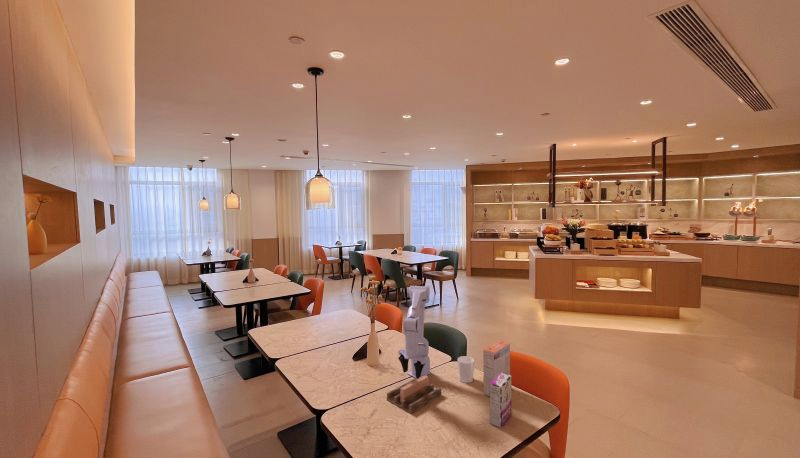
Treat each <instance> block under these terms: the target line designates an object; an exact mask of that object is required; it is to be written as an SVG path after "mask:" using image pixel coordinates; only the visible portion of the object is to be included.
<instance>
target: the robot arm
mask: <svg viewBox="0 0 800 458" xmlns="http://www.w3.org/2000/svg"><path fill="white" fill-rule="evenodd" d="M430 294H431V291H430V287H429V286H428V285H427V286H426V285H425V286H423V285H422V286H421V285H410V286H409V291H408V295H409V296H408V297H409V299H410V301H411V305H410V306H409V307H408V310H407V314H406V318H404V320H403V330H404V331H403V333H404V335H403V336H404V338H405V339H404V341H405V342H404V348H405V349H403V348H401V349H399V350H398V355H399V356H398V358H397V359H398V360H399V362H400V364H401V367H402V371H403V373H404V374H405V373H406V372H407V375H409V376H411V377H413V378H414V379H415V378H421V377H423V376H425V375H426V376H428V375H430V374H431V373H432V371H431V359H430V356H429V353H430V352H429V350H430V348H429V341H428V339H427V338H425V336H424V327H425V326H424V324H425V307H426V304H429V302H430ZM409 361H411V363H410V366H411V367H410V369H411V370H410V371H409ZM408 371H409V372H408Z"/></svg>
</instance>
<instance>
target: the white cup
mask: <svg viewBox="0 0 800 458" xmlns="http://www.w3.org/2000/svg"><path fill="white" fill-rule="evenodd" d="M457 370H458V371H457V374H458V381H460V382H462V383H463V384H464V383H465V384H471V383H472V382H474V371H475V359H474V358H473V357H471V356H467V355H466V356H465V355H463V356H462V355H461V356H458V357H457Z"/></svg>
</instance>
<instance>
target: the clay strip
mask: <svg viewBox="0 0 800 458" xmlns="http://www.w3.org/2000/svg"><path fill="white" fill-rule="evenodd" d="M427 386H429V376H428V375H425V376H423V377H421V378H419V379H417V380H415V381H413V382H411V383H409V384H407V385H406V386H404V387H402V388H400V402H401V401H402V400H404V399H406V398H407V397H409V396H411V395H413V394H414V393H416V392H418V391H420V390H422V389H423V388H425V387H427Z"/></svg>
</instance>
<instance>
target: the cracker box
mask: <svg viewBox="0 0 800 458" xmlns="http://www.w3.org/2000/svg"><path fill="white" fill-rule="evenodd" d="M482 352H483V356H482V358H483V362H482V363H483V395H484V396H487V397H489V398H490V383H491V382H492V381H493V380H494V379H495V378H496V377H497V376H498V375H499V374H500V373H504V374H507V375H511V362H510V361H511V344H510V343H508V342H505V341H502V340H498V341H497V342H495V343H493V344H491V345H490V346H487V347H486V348H483V351H482Z"/></svg>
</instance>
